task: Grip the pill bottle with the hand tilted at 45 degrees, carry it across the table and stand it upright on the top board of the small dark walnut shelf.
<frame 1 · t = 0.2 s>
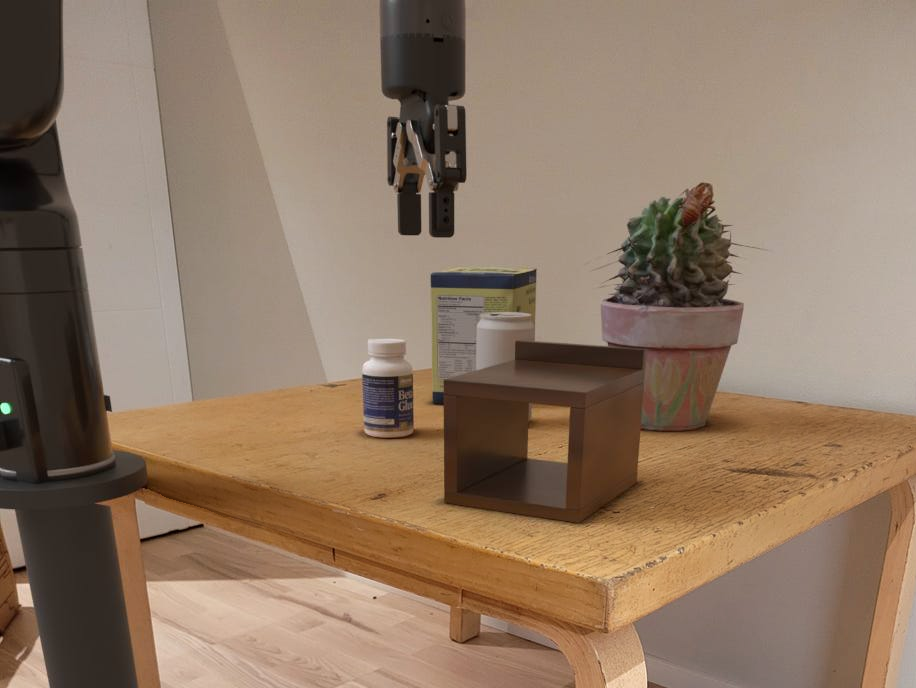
hand: (425, 236, 91), 20 cm above the table, tool pointing down, fingers open, 8 cm apart
beverage can: (503, 425, 110), on the table
pill bottle: (389, 435, 104), on the table
potted plant: (656, 422, 112), on the table
protein box: (484, 397, 126), on the table
shelf: (544, 492, 83), on the table
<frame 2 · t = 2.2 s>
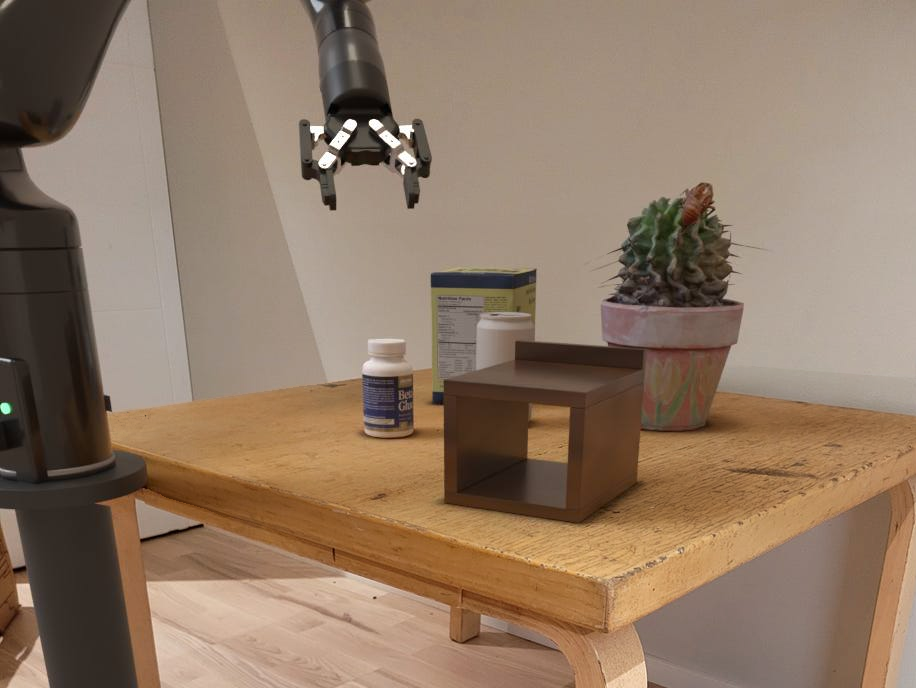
hand: (372, 204, 104), 23 cm above the table, tool tilted 40°, fingers open, 8 cm apart
nothing on the table moved.
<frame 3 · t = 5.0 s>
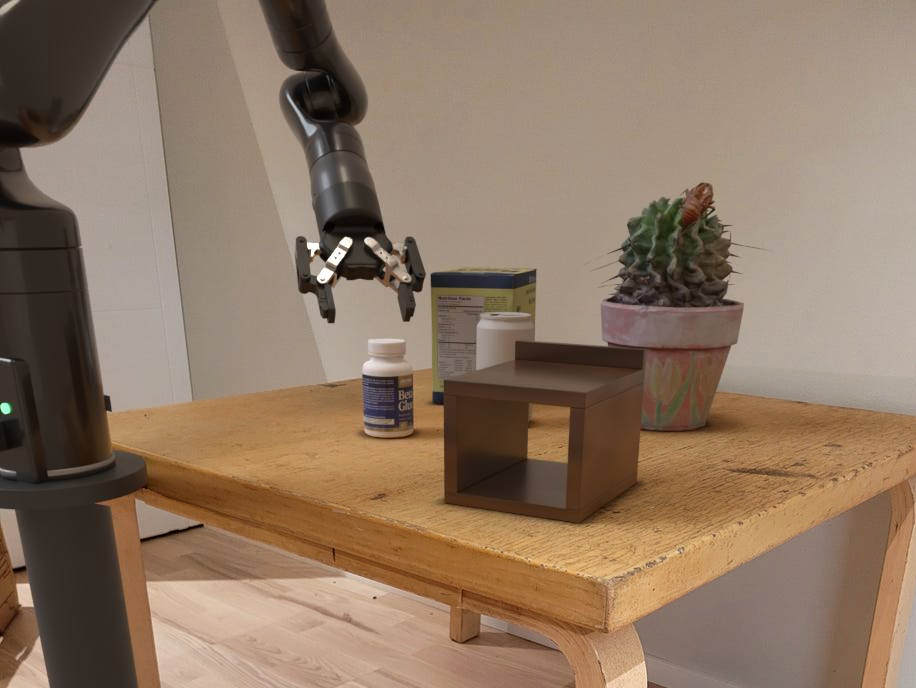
hand: (370, 317, 106), 11 cm above the table, tool tilted 45°, fingers open, 8 cm apart
nothing on the table moved.
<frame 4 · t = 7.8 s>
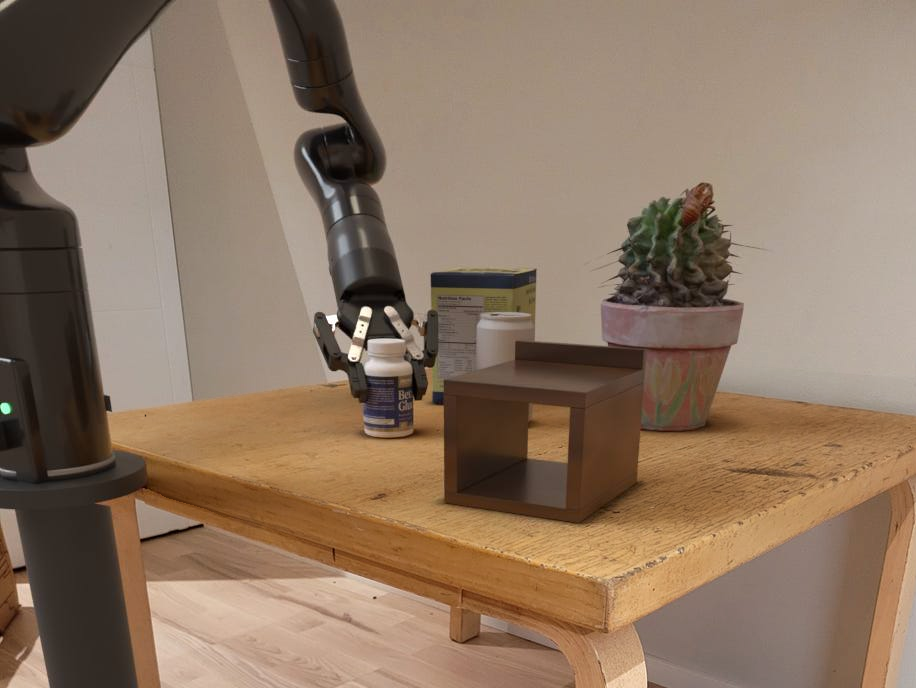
hand: (392, 396, 101), 4 cm above the table, tool tilted 45°, fingers closed on pill bottle, 5 cm apart
pill bottle: (389, 435, 104), on the table, touching gripper
everything else where it was.
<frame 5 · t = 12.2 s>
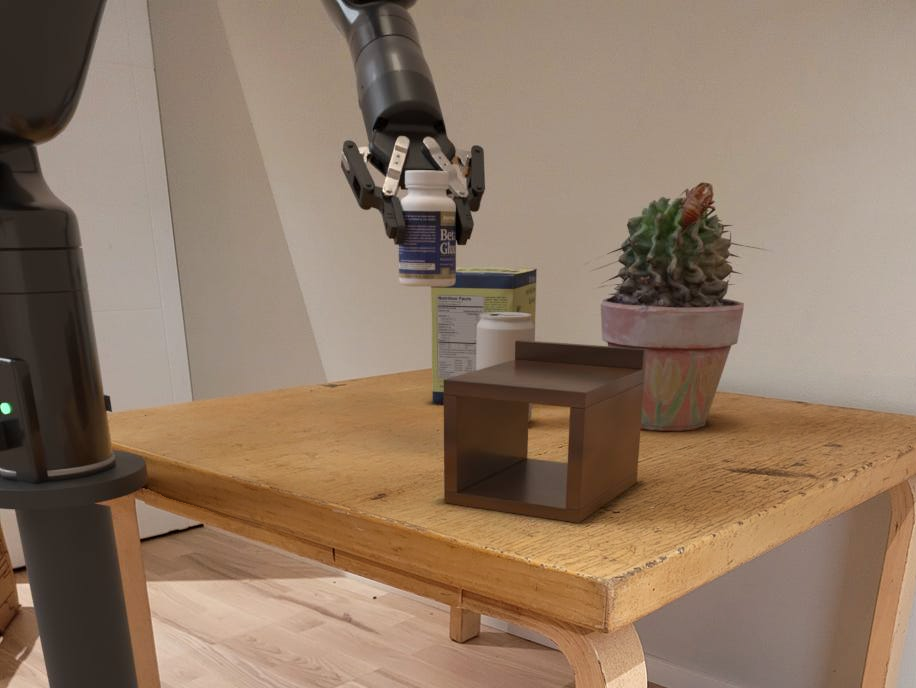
hand: (432, 237, 88), 20 cm above the table, tool tilted 45°, fingers closed on pill bottle, 5 cm apart
pill bottle: (427, 287, 91), point 15 cm above the table, touching gripper
everything else where it was.
when the fingers open (14 cm above the table, at t = 16.8 s): pill bottle stays where it is, resting on shelf.
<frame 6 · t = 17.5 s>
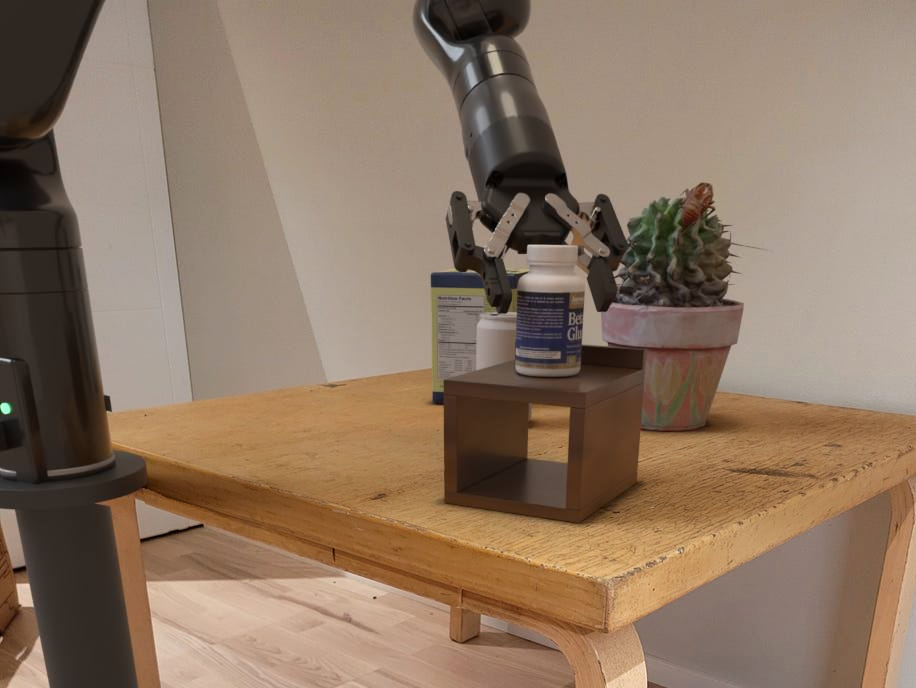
hand: (557, 306, 75), 15 cm above the table, tool tilted 45°, fingers open, 8 cm apart
pill bottle: (547, 375, 79), point 10 cm above the table, touching shelf
everything else where it was.
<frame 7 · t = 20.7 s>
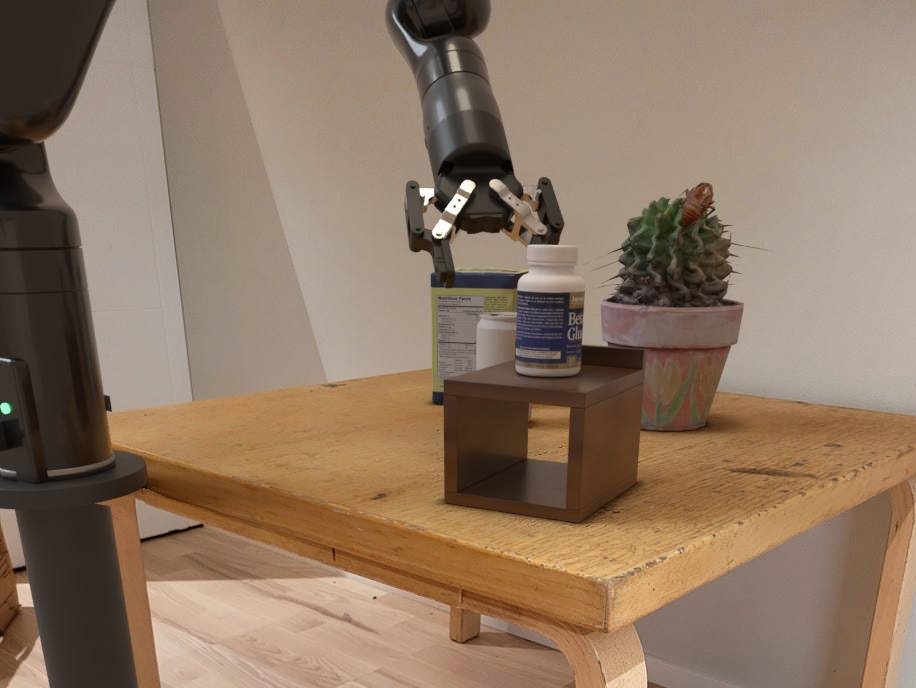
hand: (497, 280, 86), 16 cm above the table, tool tilted 45°, fingers open, 8 cm apart
nothing on the table moved.
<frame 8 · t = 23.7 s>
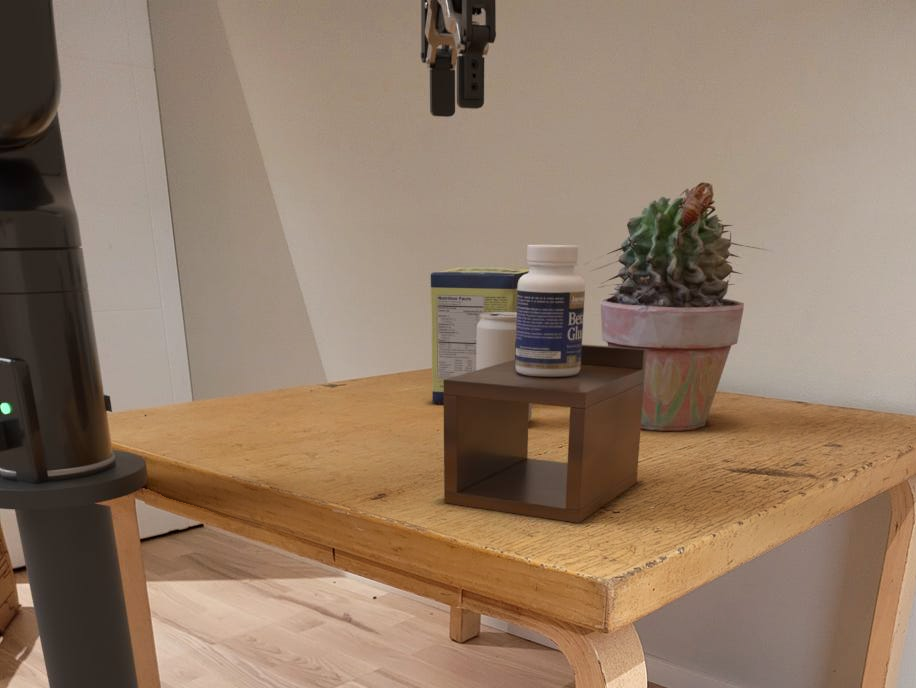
hand: (455, 112, 84), 30 cm above the table, tool pointing down, fingers open, 8 cm apart
nothing on the table moved.
at the end: pill bottle inside the target area on the shelf (0.1 cm from its centre), point 9.8 cm above the shelf's base; pill bottle tilted 0°; the gripper is holding nothing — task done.
